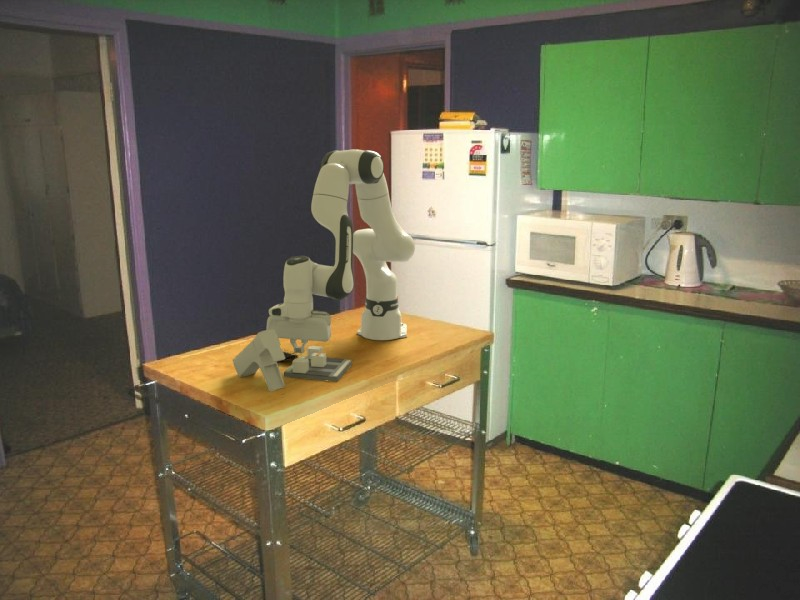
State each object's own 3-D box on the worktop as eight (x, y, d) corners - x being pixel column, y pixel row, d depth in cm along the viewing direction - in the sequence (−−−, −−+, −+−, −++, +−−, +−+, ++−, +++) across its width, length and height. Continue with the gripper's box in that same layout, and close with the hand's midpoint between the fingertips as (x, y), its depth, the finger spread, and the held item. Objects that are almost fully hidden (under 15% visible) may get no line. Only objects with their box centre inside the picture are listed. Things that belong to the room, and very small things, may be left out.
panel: (302, 360, 218) (302, 355, 217) (352, 364, 214) (352, 359, 214) (283, 377, 202) (283, 372, 201) (337, 381, 198) (336, 376, 198)
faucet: (249, 355, 207) (275, 326, 193) (268, 402, 203) (297, 376, 189) (231, 359, 203) (256, 330, 189) (250, 408, 198) (278, 381, 185)
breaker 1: (296, 369, 204) (296, 358, 203) (308, 370, 203) (308, 359, 202) (292, 372, 201) (292, 361, 200) (305, 373, 200) (305, 362, 199)
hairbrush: (269, 336, 235) (303, 350, 215) (269, 346, 236) (303, 361, 216) (247, 340, 230) (280, 355, 210) (247, 350, 231) (280, 366, 211)
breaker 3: (314, 363, 209) (314, 351, 208) (326, 364, 209) (326, 352, 208) (311, 366, 207) (310, 354, 206) (323, 367, 206) (323, 355, 205)
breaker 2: (310, 356, 216) (310, 345, 215) (322, 357, 215) (322, 346, 215) (307, 358, 213) (307, 348, 213) (319, 359, 213) (319, 349, 212)
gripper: (334, 309, 205) (334, 352, 208) (271, 305, 209) (272, 347, 213) (327, 314, 199) (327, 358, 202) (263, 309, 203) (264, 352, 206)
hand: (299, 352), depth 208 cm, fingers closed
